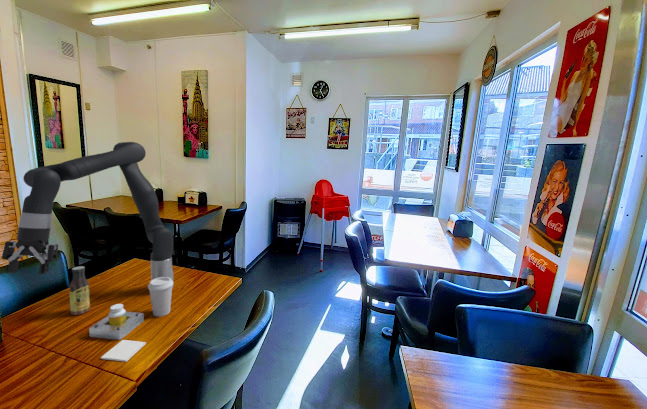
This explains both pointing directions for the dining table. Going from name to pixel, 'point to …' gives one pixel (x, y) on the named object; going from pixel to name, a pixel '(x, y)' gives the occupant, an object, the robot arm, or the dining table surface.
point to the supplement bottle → (117, 315)
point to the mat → (123, 350)
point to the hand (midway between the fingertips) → (27, 273)
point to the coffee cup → (161, 295)
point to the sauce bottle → (79, 292)
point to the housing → (116, 327)
